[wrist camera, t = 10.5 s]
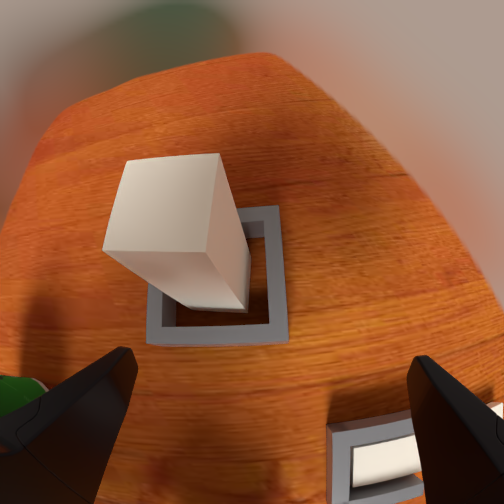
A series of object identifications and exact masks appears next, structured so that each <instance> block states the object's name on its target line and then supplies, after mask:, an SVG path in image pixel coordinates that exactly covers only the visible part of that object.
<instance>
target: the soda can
mask: <svg viewBox="0 0 504 504" xmlns="http://www.w3.org/2000/svg"><path fill="white" fill-rule="evenodd" d="M47 391H49V389H48V388H47V387H46V386H45V385H44V384H43V383H42V382H40V381H38V380H37V379H35V378H26V377H15V376H5V375H0V417H2V416H5V415H7V414H9V413H11V412H13V411H15V410H17V409H18V408H20V407H22V406H24V405H26V404H27V403H29V402H31V401H33V400H34V399H36V398H37V397H39V396H42V394H44V393H46V392H47Z"/></svg>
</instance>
